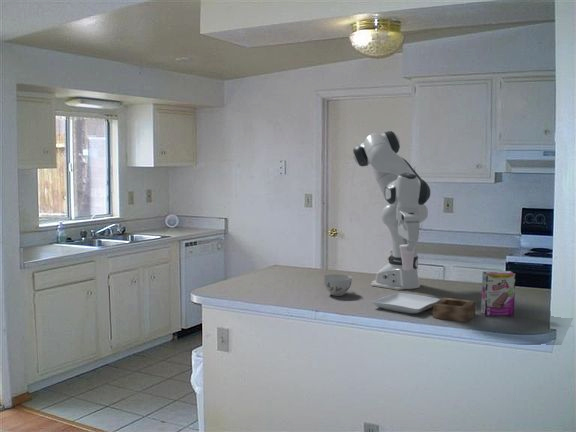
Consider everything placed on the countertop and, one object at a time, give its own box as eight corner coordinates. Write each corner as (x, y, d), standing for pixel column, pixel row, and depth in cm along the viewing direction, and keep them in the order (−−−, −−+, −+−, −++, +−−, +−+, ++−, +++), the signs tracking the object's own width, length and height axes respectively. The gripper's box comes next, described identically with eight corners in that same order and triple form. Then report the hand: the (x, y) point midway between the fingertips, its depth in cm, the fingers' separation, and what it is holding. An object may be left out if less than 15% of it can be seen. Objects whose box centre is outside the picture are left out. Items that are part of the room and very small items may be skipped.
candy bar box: (485, 316, 227) (486, 273, 225) (480, 313, 232) (481, 271, 230) (514, 316, 228) (516, 273, 226) (509, 312, 233) (510, 270, 231)
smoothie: (403, 271, 237) (403, 236, 236) (396, 268, 244) (396, 234, 242) (418, 270, 239) (418, 235, 237) (411, 267, 245) (411, 233, 244)
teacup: (342, 299, 257) (342, 280, 256) (317, 295, 264) (317, 277, 264) (360, 292, 269) (360, 274, 268) (335, 288, 277) (335, 271, 276)
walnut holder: (432, 317, 227) (433, 304, 227) (442, 309, 238) (442, 297, 237) (466, 322, 221) (467, 308, 220) (475, 313, 231) (475, 301, 231)
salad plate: (396, 299, 258) (397, 291, 257) (443, 306, 244) (443, 298, 244) (370, 309, 241) (370, 301, 241) (418, 318, 228) (418, 309, 228)
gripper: (394, 212, 249) (394, 245, 251) (405, 217, 229) (405, 253, 230) (409, 212, 249) (409, 245, 251) (422, 217, 229) (422, 253, 231)
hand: (407, 249), depth 240 cm, fingers closed on smoothie, 6 cm apart
